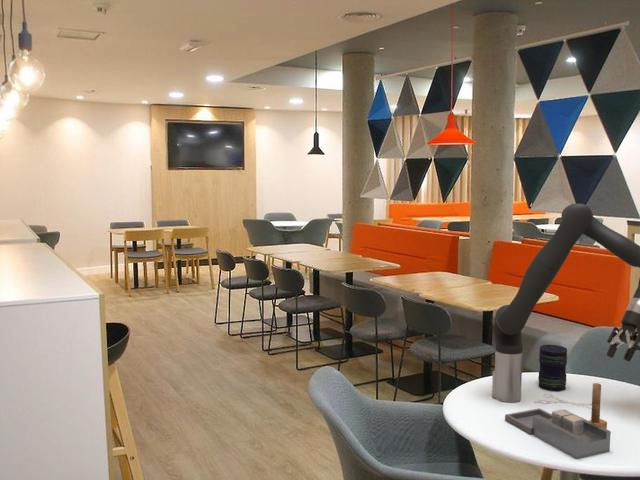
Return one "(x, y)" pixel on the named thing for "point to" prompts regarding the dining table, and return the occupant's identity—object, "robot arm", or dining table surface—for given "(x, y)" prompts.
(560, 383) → the storage jar
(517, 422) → the tray
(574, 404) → the scissors
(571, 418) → the chip
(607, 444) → the slot board
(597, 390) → the wooden post on base
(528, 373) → the dining table surface
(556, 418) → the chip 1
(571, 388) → the dining table surface
